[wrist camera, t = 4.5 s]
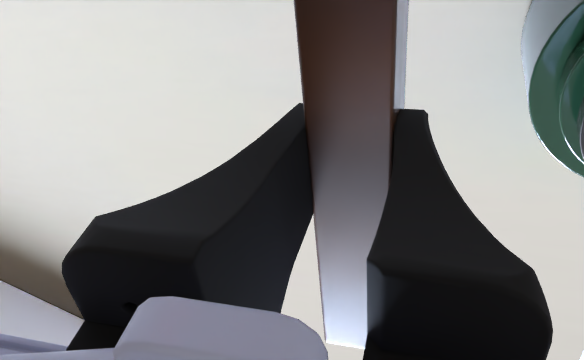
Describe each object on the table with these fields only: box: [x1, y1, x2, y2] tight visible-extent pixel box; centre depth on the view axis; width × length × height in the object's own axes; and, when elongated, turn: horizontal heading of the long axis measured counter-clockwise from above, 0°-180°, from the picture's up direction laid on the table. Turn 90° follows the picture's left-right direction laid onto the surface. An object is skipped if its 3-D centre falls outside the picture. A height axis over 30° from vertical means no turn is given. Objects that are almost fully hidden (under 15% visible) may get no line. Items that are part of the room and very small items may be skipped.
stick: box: [294, 0, 409, 349], centre depth 14 cm, size 14×2×3 cm, turn 5°
